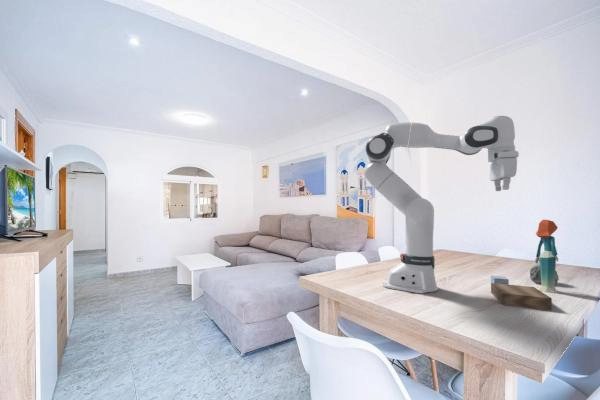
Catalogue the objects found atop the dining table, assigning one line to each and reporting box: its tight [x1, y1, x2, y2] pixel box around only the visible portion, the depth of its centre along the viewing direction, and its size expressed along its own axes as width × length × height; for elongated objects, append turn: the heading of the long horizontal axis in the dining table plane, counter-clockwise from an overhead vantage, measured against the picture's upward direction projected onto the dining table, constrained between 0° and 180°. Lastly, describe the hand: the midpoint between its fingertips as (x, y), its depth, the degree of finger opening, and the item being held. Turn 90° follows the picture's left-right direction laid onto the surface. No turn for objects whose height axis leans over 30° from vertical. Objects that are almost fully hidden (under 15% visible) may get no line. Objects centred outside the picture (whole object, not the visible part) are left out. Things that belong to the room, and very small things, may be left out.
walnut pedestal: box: [490, 282, 553, 311], centre depth 100 cm, size 14×14×4 cm
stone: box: [529, 262, 560, 285], centre depth 124 cm, size 10×10×10 cm
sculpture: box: [534, 219, 559, 294], centre depth 113 cm, size 13×7×30 cm, turn 168°
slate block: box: [490, 275, 510, 285], centre depth 115 cm, size 5×5×5 cm
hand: (501, 190), depth 108 cm, fingers open, 8 cm apart
